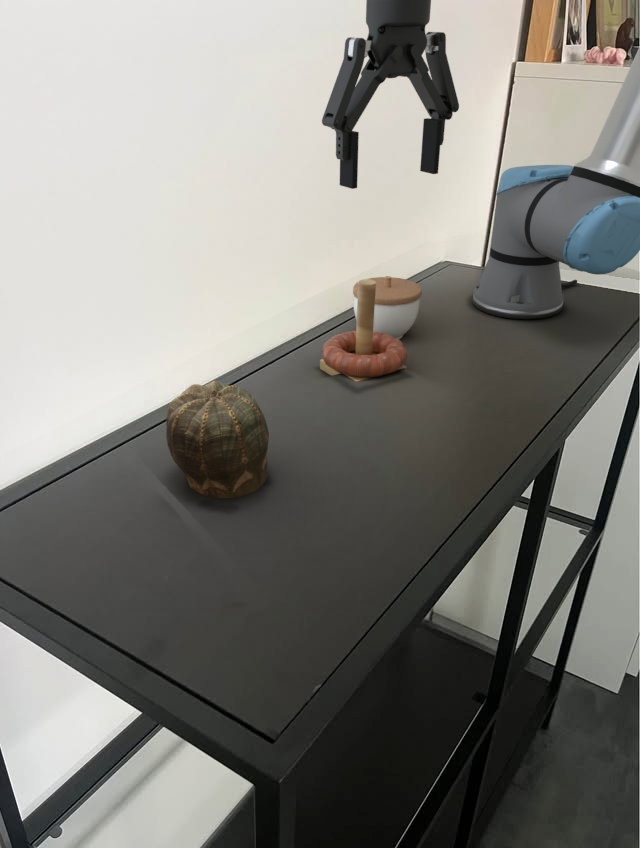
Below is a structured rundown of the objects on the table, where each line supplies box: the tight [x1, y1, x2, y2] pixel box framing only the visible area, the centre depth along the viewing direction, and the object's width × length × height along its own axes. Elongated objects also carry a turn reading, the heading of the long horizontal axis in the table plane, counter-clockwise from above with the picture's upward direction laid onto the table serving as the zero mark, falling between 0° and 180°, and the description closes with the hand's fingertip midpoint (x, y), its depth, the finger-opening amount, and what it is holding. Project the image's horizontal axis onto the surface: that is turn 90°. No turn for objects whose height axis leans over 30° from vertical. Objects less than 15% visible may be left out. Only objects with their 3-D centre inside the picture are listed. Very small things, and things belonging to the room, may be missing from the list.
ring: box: [321, 330, 408, 378], centre depth 110 cm, size 12×12×3 cm
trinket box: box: [352, 275, 423, 340], centre depth 122 cm, size 11×11×9 cm
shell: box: [165, 380, 270, 499], centre depth 83 cm, size 11×11×12 cm
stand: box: [319, 278, 408, 382], centre depth 108 cm, size 9×9×14 cm
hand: (389, 179), depth 101 cm, fingers open, 13 cm apart
